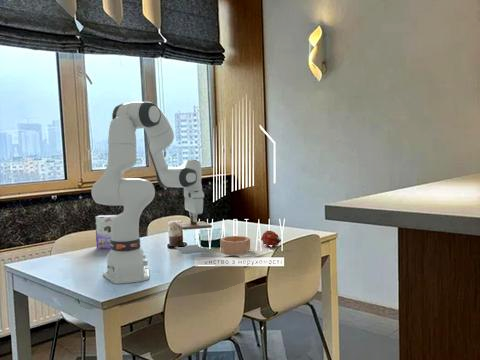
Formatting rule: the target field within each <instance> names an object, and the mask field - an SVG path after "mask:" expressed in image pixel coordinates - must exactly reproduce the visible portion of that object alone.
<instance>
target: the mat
mask: <svg viewBox="0 0 480 360" xmlns="http://www.w3.org/2000/svg"><path fill="white" fill-rule="evenodd" d="M184 246H185V247H178V246H174V248H175V249H176V250H177V251H178V252H180V253H181V254H182V255H187V254H195V253H206V252H215V249H213V248H212V249H207V248H201V247H199V246H198V244H191V245H190V244H189V245H184Z"/></svg>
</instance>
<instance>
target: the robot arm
mask: <svg viewBox="0 0 480 360" xmlns="http://www.w3.org/2000/svg"><path fill="white" fill-rule="evenodd" d="M111 115H112V116H111V117H112V119H111V121H110V122H109V123H110V124H109V128H108V129H109V130H108V141H107V142H108V143H107V144H108V146H107V147H108V153H107V154H108V155H107V164H106V165H107V166H106V168H105V170H104V173H102V175H101V176H100V178H99V179H97V180H96V181H95V182H94V184H93V185H92V187H91V192H90V193H91V197H92V199H93V201H94V202H95V203H96V204H99V205H104V206H122V207H123V212H121V213H119V214H116V215H117V216H115V217H114V218H113V219H112V221H111V240H110V248H111V249H110V251H109V252H108V253H107V254H106V271H103V272H102V276H103V277H105V278H106V279H108V281H110V282H111V283H112V284H117V285H118V284H131V283H140V282H144V281H148V280H150V267H149V266H148V259H146V257H147V256H146V254H144V250H143V249H142V248H141V247H142V246H141V239H140V233H139V227H140V217H141V215H142V213H143V211H144V210H145V208H146V207H147V206H148V205H149V204H150V203H151V202H153V200H154V198H155V196H156V195H155V193H156V189H155V186H154V184H153V183H152V182H151V180H148V179H144V178H124V174H125V172H126V171H128V170H129V169H132V168H133V167H135V165H136V164H137V136H136V131H137V130H138V129H144V131H145V133H146V135H147V136H146V137H147V138H148V146H147V148H148V152H149V155H150V156H149V157H150V159H151V161H152V164H153V165H152V166H153V167H154V171H155V176H156V181H157V184H158V185H159V187H161V188H163V189H164V188H165V189H166V188H167V189H168V188H180V189H181V188H183V197H184V209H185V211H188V214H189V217H190V216H193V222H198V215H201V214H203V212H204V198H205V192H204V191H203V185H202V179H203V174H202V165H201V162H200V161H199V160H197V159H185V160H184V162H183V163H182V165H179V166H177V167H176V166H169V165H168V164H167V161H166V159H165V155H164V152H163V151H164V150H167V149H168V147H170V146H171V145H172V144H173V143H174V142H173V141H174V138H175V135H174V130H173V128H172V126H171V124H170V121H169V120H168V118H167V117H166V115H165V114H164V112H163V110H162V108H160V107H159V106H158V105H157V104H156V103H154V102H151V101H131V102H126V103H125V102H124V103H121V104H117V105H116V106H115V107H114V109H113V110H112V114H111Z"/></svg>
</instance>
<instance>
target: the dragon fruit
mask: <svg viewBox="0 0 480 360" xmlns="http://www.w3.org/2000/svg"><path fill="white" fill-rule="evenodd" d="M260 240H261V241H262V244H263V245H264V244H266V245H265V246H268V245H275V246H278V245H279V244H280V243H281V242H282V239H281V238H280V237H279V235H278V234H277V233H276V232H274V230H273V231H272V230H266V231H265V232H263V234H262V236H261V238H260Z"/></svg>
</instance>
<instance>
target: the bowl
mask: <svg viewBox="0 0 480 360" xmlns="http://www.w3.org/2000/svg"><path fill="white" fill-rule="evenodd" d="M219 245H220V247H219V249H220V252H221V253H222V254H227V255H228V254H229V255H241V253H242V254H246V253H245V252H247V251H249V250H250V251H251V238H250V237H247V236H244V235H243V236H242V235H230V236H224V237H222V238H220V239H219ZM247 253H248V252H247Z"/></svg>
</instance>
